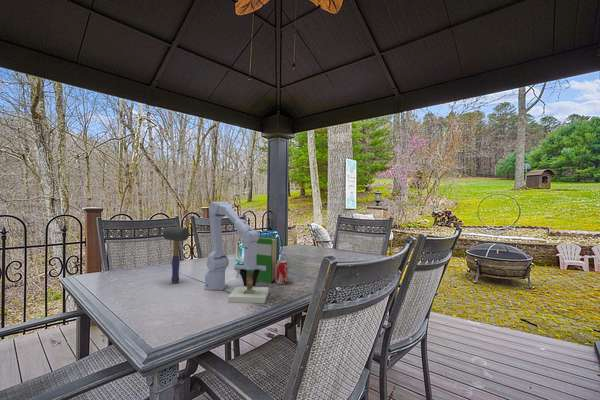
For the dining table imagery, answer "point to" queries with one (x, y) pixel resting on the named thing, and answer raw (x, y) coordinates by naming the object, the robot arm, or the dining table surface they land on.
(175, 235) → the rubber mallet
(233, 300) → the sage board
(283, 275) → the soda can
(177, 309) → the dining table surface
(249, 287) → the oak peg
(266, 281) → the hardback book
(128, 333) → the dining table surface
